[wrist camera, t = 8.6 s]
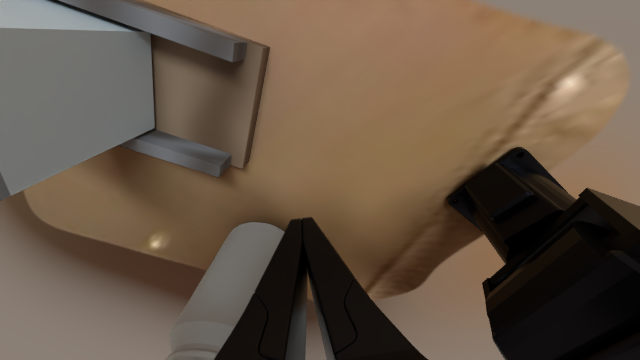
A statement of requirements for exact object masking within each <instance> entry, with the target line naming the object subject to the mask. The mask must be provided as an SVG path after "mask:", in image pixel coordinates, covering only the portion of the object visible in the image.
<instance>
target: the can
mask: <svg viewBox="0 0 640 360" xmlns="http://www.w3.org/2000/svg"><path fill="white" fill-rule="evenodd" d="M283 234H284V231H283V230H281V229H280V228H278V227H276V226H274V225H271V224H268V223H259V222H250V223H244V224H241V225H239V226H237V227H235V228H234V229H233V230H232V231H231V232H230V234H229V235H228V236H227V238H226V240H225V241H224V243H223V245H222V246H221V248H220V250H219V251H218V253H217V255H216V256H215V258H214V260H213V261H212V263H211V265H210V266H209V268H208V270H207V271H206V273H205V275H204V277H203V278H202V280H201V282H200V283H199V285H198V287H197V288H196V290H195V292H194V293H193V295H192V297H191V298H190V300H189V302H188V303H187V305H186V307H185V308H184V310H183V312H182V313H181V315H180V317H179V318H178V320H177V322H176V323H175V325H174V327H173V328H172V330H171V332H170V333H169V342H170V347H171V352H172V353H171V354H170V355H169V356H168V357H167V358H166V359H165V360H214V358H215V357H216V355H217V354H218V352H219V351H220V349H221V348H222V346H223V344H224V343H225V341H226V340H227V338H228V337H229V335H230V334H231V332H232V330H233V329H234V327H235V326H236V324H237V322H238V321H239V319H240V317H241V316H242V314H243V312H244V310H245V308H246V306H247V305H248V303H249V301H250V299H251V297H252V295H253V293H255V289H256V287H257V285H258V283H259V281H260V279H261V277H262V276H263V274H264V272H265V270H266V268H267V266H268V264H269V262H270V260H271V258H272V256H273V254H274V252H275V250H276V248H277V246H278V244H279V242H280V240H281V238H282V236H283Z"/></svg>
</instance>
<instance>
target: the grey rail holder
mask: <svg viewBox="0 0 640 360" xmlns="http://www.w3.org/2000/svg"><path fill="white" fill-rule="evenodd" d="M59 1H62V2H65V3H67V4H70V5H73V6H76V7H79V8H81V9H84V10H87V11H90V12H93V13H95V14H98V15H101V16H104V17H107V18H110V19H112V20H115V21H118V22H121V23H124V24H126V25H129V26H132V27H135V28H138V29H140V30H143V31H146V32H149V33H150V35H151V57H152V78H153V100H154V122H155V128H153V129H151V130H149V131H147V132H145V133H143V134H141V135H139V136H136V137H134V138H132V139H130V140H128V141H126V142H124V143H122V144H119V145H118V146H121V147H124V148H128V149H131V150H134V151H137V152H140V153H143V154H147V155H150V156H153V157H156V158H159V159H162V160H165V161H169V162H172V163H175V164H178V165H181V166H184V167H188V168H191V169H194V170H197V171H200V172H203V173H206V174H210V175H213V176H216V177H220V176H221V175H222V174H223V173H224V171H225V170H226V169H227V168H228V167H229V166H230V165H232V166H235V167H238V168H241V169H243V168H244V166H245V165H246V164H247V163H248V161H249V158H250V152H251V147H252V141H253V136H254V130H255V125H256V120H257V114H258V109H259V103H260V98H261V92H262V87H263V82H264V76H265V71H266V65H267V60H268V54H269V49H270V47H268V46H266V45H263V44H260V43H257V42H255V41H252V40H249V39H246V38H244V37H241V36H238V35H236V34H233V33H230V32H227V31H225V30H222V29H219V28H216V27H214V26H211V25H208V24H205V23H203V22H200V21H197V20H195V19H192V18H189V17H186V16H184V15H181V14H178V13H175V12H173V11H170V10H167V9H164V8H162V7H159V6H156V5H154V4H151V3H148V2H145V1H143V0H59Z"/></svg>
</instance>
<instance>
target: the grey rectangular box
mask: <svg viewBox="0 0 640 360" xmlns="http://www.w3.org/2000/svg"><path fill="white" fill-rule="evenodd" d="M153 128H155V122H154V100H153V78H152V57H151V35H150V33H149V32H146V31H143V30H140V29H138V28H135V27H132V26H129V25H126V24H124V23H121V22H118V21H115V20H112V19H110V18H107V17H104V16H101V15H98V14H95V13H93V12H90V11H87V10H84V9H81V8H79V7H76V6H73V5H70V4H67V3H65V2H62V1H59V0H0V201H1V200H3V199H5V198H7V197H9V196H11V195H13V194H15V193H18V192H20V191H22V190H24V189H26V188H28V187H30V186H32V185H35V184H37V183H39V182H41V181H43V180H45V179H47V178H49V177H52V176H54V175H56V174H58V173H60V172H62V171H64V170H66V169H69V168H71V167H73V166H75V165H77V164H79V163H81V162H83V161H86V160H88V159H90V158H92V157H94V156H96V155H98V154H100V153H102V152H105V151H107V150H109V149H111V148H113V147H115V146H117V145H119V144H122V143H124V142H126V141H128V140H130V139H132V138H134V137H136V136H139V135H141V134H143V133H145V132H147V131H149V130H151V129H153Z"/></svg>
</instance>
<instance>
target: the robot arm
mask: <svg viewBox="0 0 640 360" xmlns="http://www.w3.org/2000/svg"><path fill="white" fill-rule="evenodd" d="M520 152H521V154H520V155H518V156H517V154H518V153H520ZM454 199H456V200H455V201H453V200H454ZM447 201H448V202H449V204H450V205H451V206H452V207H453V208H455V209H456V210H457V211H458V212H459V213H461V214H462V215H463V216H464V217H465V218H467V219H468V220H469V221H470V222H471V223H473V224H474V225H475V226H476V227H477V228H479V229H480V230H481V231H482V232H483V233H484V234H485V236H486V237H487V238H488V240H489V241H490V243H491V244H492V245H493V247H494V248H495V250H496V251H497V253H498V254H499V256H500V257H501V258H502V260H503V261H504V263H505V265H504V266H503V267H502V268H501V269H500V270H499V271H497V272H496V273H495V274H494V275H493V276H492V277H491V278H487V279H486V280H485V281H484V282H483V283H482V285H483V290H484V295H485V300H486V310H487V315H488V318H489V321H490V326H491V331H492V338H493V341H494V343H495V344H496V346H497V347H498V349H499V351H500V352H501V354H502V355H503V357H504V358H505V360H640V206H637V205H634V204H632V203H629V202H626V201H623V200H620V199H617V198H615V197H612V196H609V195H606V194H604V193H600V192H598V191H595V190H592V189H590V188H586V189H585V190H584V191H583V192H582V193H581V194H579V198H578V199H575V198H574V197H573V196H571V195H570V194H568V192H567V191H566V190H565V189H564V188H563V187H562V186H561V185H560V184H559V183H558V182H557V181H556V180H555V179H554V178H553V177H552V176H551V175H550V174H549V173H548V172H547V170H546V169H545V168H544V167H543V166H542V165H541V164H540V163H539V162H538V161H537V160H536V159H535V158H534V157H533V156H532V155H531V154H530V153H529V152H528V151H527V150H526V149H524V148H522V147H516V148H514V149H513V150H511V151H510V152H509V153H507V154H506V155H504V156H503V157H502V158H500V159H499V160H498V161H496V162H495V163H493V164H492V165H491V166H489V167H488V168H487V169H485V170H484V171H482V172H481V173H480V174H478V175H477V176H476V177H474V178H473V179H471V180H470V181H469V182H467V183H466V184H465V185H463V186H462V187H460V188H459V189H458V190H456V191H455V192H454V193H452V194H451V195H450V196H449V197H448V198H447ZM307 271H308V276H309V281H310V286H311V290H312V295H313V299H314V303H315V307H316V313H317V317H318V321H319V326H320V330H321V335H322V339H323V344H324V348H325V353H326V357H327V360H428V359H427V358H425V357H424V356H423V355H422V354H421V353H420V352H419V351H418V350H417V349H416V348H415V347H414V346H412V344H411V343H410V342H409V341H408V340H407V339H406V338H405V337H404V336H403V334H402V333H401V332H400V331H399V330H398V329H397V328H396V327H395V326H394V325H393V324H392V322H391V321H390V320H389V319H388V318H387V317H386V316H385V315H384V313H382V312H381V310H380V309H379V308H378V307H377V306H376V305H375V303H374V302H373V301H372V300H371V298H370V297H369V296H368V295H367V293H366V292H365V291H364V289H363V288H362V287H361V285H360V284H359V282H358V281H357V280H356V279H355V277H354V276H353V274H352V273H351V271H350V270H349V268H348V267H347V266H346V264H345V263H344V261H343V260H342V259H341V257H340V256H339V254H338V253H337V252H336V250H335V249H334V247H333V246H332V245H331V243H330V242H329V240H328V239H327V237H326V236H325V235H324V233H323V232H322V230H321V229H320V228H319V226H318V225H317V223H316V222H315V221H314V219H313V218H312V217H308V218H303V219H302V220H301V219H292V220H291V221H290V223H289V225H288V227H287V229H286V230H285V232H284V234H283V236H282V238H281V240H280V242H279V244H278V246H277V248H276V250H275V252H274V254H273V256H272V258H271V260H270V262H269V264H268V266H267V268H266V270H265V272H264V274H263V276H262V277H261V279H260V281H259V283H258V285H257V287H256V289H255V293H253V295H252V297H251V299H250V301H249V303H248V305H247V306H246V308H245V310H244V312H243V314H242V316H241V317H240V319H239V321H238V322H237V324H236V326H235V327H234V329H233V330H232V332H231V334H230V335H229V337H228V338H227V340H226V341H225V343H224V344H223V346H222V348H221V349H220V351H219V352H218V354H217V355H216V357H215V358H214V360H305V346H306V345H305V344H306V343H305V342H306V311H307Z"/></svg>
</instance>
